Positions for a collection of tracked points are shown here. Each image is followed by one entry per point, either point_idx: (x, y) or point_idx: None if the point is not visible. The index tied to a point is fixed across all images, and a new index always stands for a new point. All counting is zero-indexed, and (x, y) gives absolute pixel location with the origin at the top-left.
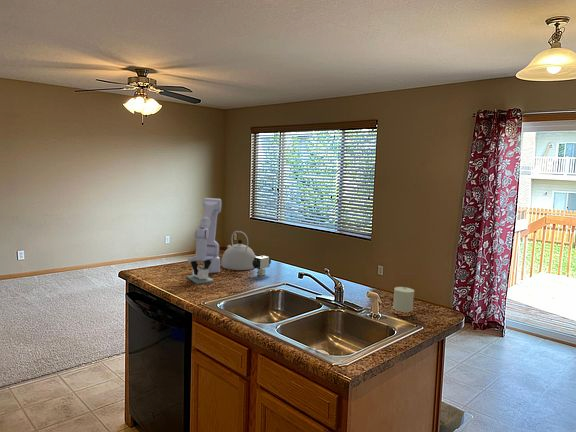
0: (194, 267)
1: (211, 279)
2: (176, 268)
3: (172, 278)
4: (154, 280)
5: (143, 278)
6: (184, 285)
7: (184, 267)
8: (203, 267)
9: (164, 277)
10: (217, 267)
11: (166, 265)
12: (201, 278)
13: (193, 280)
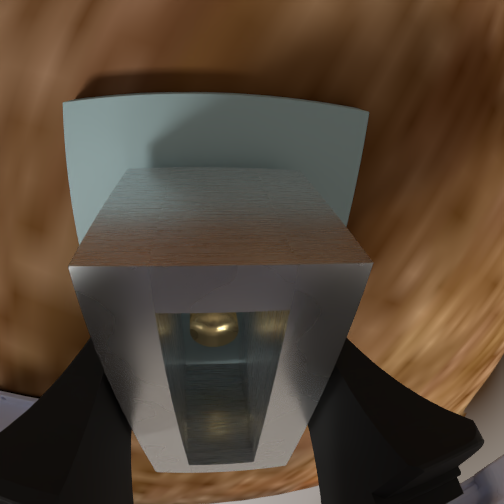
0: (402, 391)
1: (82, 151)
2: (245, 478)
3: (403, 358)
4: (490, 333)
5: (484, 368)
6: (478, 129)
7: (198, 482)
8: (154, 421)
9: (417, 380)
10: (2, 426)
11: (263, 494)
12: (261, 172)
13: (343, 221)
